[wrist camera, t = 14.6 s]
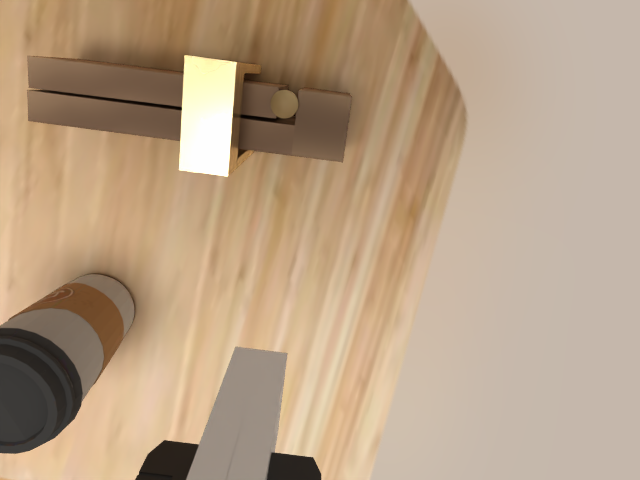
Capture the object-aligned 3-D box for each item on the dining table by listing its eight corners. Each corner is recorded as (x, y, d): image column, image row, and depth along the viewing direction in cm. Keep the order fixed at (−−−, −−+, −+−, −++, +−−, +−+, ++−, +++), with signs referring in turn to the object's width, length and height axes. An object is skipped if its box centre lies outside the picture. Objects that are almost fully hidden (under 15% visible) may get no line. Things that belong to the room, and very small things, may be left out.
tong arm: (77, 59, 41) (27, 55, 34) (288, 85, 41) (278, 87, 34) (78, 85, 42) (28, 87, 35) (285, 111, 42) (275, 118, 35)
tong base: (76, 57, 41) (22, 53, 34) (349, 93, 41) (352, 97, 34) (77, 113, 42) (25, 121, 35) (341, 148, 42) (342, 163, 35)
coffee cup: (120, 247, 46) (21, 326, 31) (164, 329, 48) (90, 437, 33) (37, 280, 47) (-95, 371, 32) (84, 358, 49) (-21, 476, 35)
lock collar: (222, 60, 40) (184, 55, 30) (261, 65, 41) (236, 61, 31) (216, 147, 42) (179, 169, 32) (253, 152, 43) (227, 176, 32)
